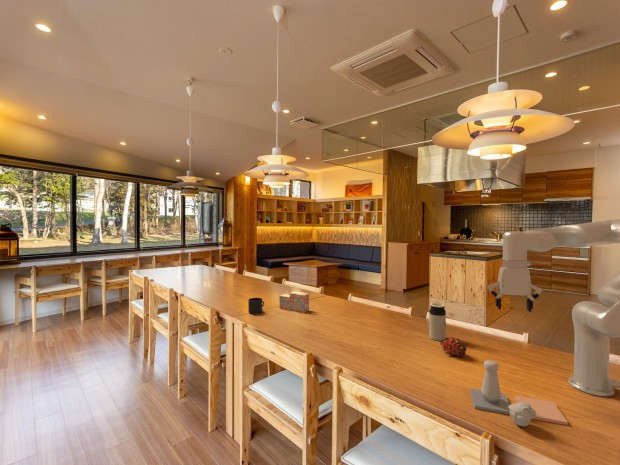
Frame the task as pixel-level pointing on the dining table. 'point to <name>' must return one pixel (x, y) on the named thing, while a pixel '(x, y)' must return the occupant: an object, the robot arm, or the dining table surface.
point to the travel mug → (437, 322)
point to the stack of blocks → (295, 301)
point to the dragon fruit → (454, 346)
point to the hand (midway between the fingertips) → (513, 309)
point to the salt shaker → (491, 382)
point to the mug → (255, 305)
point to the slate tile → (493, 407)
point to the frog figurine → (521, 413)
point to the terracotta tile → (544, 410)
